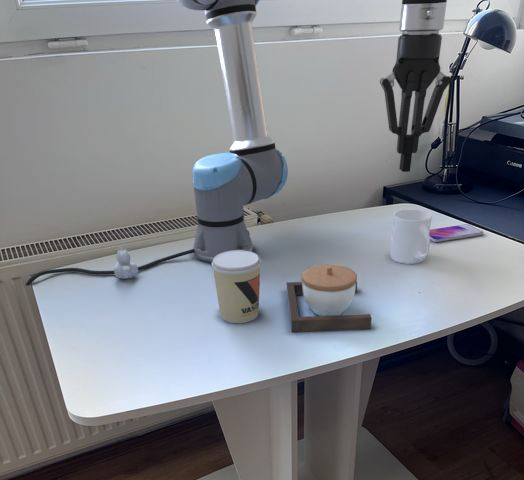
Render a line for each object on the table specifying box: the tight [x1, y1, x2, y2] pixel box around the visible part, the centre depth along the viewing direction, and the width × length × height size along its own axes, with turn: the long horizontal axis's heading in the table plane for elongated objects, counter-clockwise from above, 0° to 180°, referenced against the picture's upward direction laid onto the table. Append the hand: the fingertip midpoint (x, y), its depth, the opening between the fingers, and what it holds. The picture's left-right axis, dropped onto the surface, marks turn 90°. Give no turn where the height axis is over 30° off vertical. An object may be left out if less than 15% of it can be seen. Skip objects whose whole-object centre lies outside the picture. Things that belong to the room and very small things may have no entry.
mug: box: [389, 208, 433, 265], centre depth 120 cm, size 9×12×11 cm
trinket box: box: [301, 263, 358, 316], centre depth 101 cm, size 11×11×9 cm
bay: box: [285, 281, 372, 333], centre depth 103 cm, size 15×17×2 cm
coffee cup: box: [211, 250, 262, 324], centre depth 100 cm, size 9×9×12 cm
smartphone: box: [429, 223, 484, 243], centre depth 136 cm, size 7×1×15 cm
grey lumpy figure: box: [113, 245, 139, 280], centre depth 118 cm, size 5×7×8 cm
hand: (404, 169), depth 103 cm, fingers closed
